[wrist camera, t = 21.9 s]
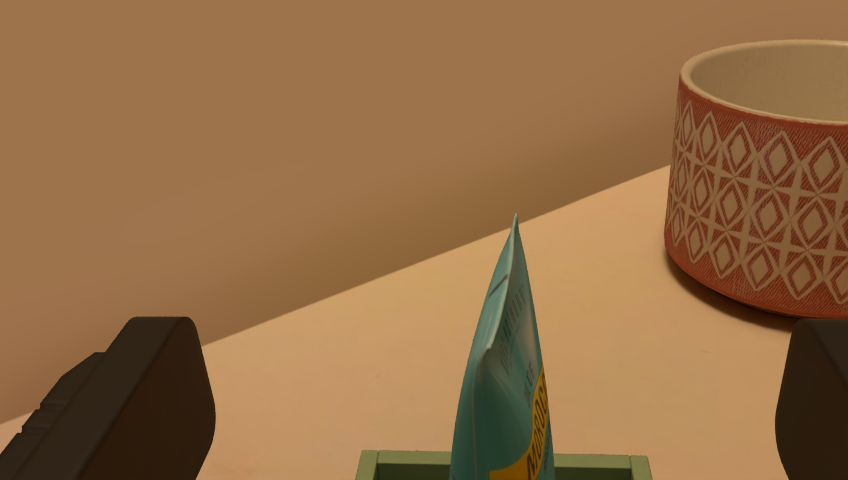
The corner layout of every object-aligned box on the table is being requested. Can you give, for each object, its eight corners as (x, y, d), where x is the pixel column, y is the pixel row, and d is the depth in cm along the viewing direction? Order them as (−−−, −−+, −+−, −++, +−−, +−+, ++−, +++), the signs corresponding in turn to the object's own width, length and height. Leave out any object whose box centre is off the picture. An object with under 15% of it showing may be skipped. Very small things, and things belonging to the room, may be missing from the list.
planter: (732, 190, 71) (755, 27, 64) (974, 256, 59) (1035, 63, 52) (614, 272, 60) (626, 86, 53) (883, 376, 47) (945, 150, 40)
